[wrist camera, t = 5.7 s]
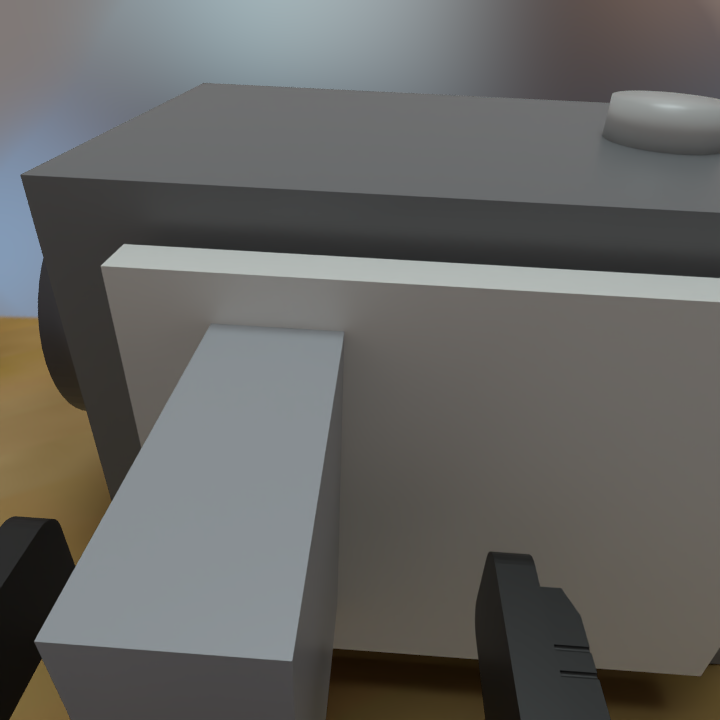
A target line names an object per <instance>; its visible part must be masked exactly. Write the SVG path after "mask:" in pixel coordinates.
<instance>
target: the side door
mask: <svg viewBox="0 0 720 720" xmlns="http://www.w3.org/2000/svg"><path fill="white" fill-rule="evenodd" d="M101 270H102V275H103V279H104V284H105V288H106V293H107V297H108V302H109V306H110V311H111V315H112V319H113V324H114V328H115V333H116V337H117V342H118V346H119V351H120V355H121V360H122V364H123V368H124V373H125V377H126V382H127V386H128V391H129V395H130V400H131V404H132V409H133V413H134V418H135V422H136V426H137V431H138V435H139V440H140V444H141V450H140V452H139V454H138V455H137V457H136V459H135V461H134V463H133V464H132V466H131V468H130V470H129V472H128V473H127V475H126V477H125V479H124V481H123V482H122V484H121V486H120V488H119V490H118V491H117V493H116V495H115V497H114V499H113V500H112V502H111V504H110V506H109V508H108V509H107V511H106V513H105V515H104V517H103V518H102V520H101V522H100V524H99V526H98V527H97V529H96V531H95V533H94V535H93V536H92V538H91V540H90V542H89V544H88V545H87V547H86V549H85V551H84V553H83V554H82V556H81V558H80V560H79V562H78V563H77V565H76V567H75V569H74V571H73V572H72V574H71V576H70V578H69V579H68V581H67V583H66V585H65V587H64V588H63V590H62V592H61V594H60V596H59V597H58V599H57V601H56V603H55V605H54V606H53V608H52V610H51V612H50V614H49V615H48V617H47V619H46V621H45V623H44V624H43V626H42V628H41V630H40V632H39V633H38V635H37V637H36V639H35V641H34V643H35V645H36V647H37V649H38V651H39V653H40V655H41V657H42V660H43V662H44V664H45V666H46V668H47V670H48V672H49V674H50V676H51V679H52V681H53V683H54V685H55V687H56V689H57V691H58V693H59V695H60V698H61V700H62V702H63V704H64V706H65V708H66V710H67V712H68V715H69V717H70V719H71V720H326V712H327V702H328V692H329V682H330V672H331V662H332V652H333V648H335V649H348V650H361V651H374V652H387V653H401V654H414V655H427V656H440V657H453V658H466V659H478V652H477V644H476V635H475V606H476V599H477V595H478V591H479V587H480V583H481V578H482V574H483V570H484V566H485V562H486V558H487V555H488V553H489V552H490V551H491V552H505V553H519V554H530V555H531V556H532V558H533V560H534V563H535V567H536V571H537V575H538V579H539V584H540V587H553V588H562V590H563V591H564V593H565V594H566V596H567V597H568V598H569V600H570V601H571V603H572V604H573V605H574V607H575V608H576V610H577V611H578V613H579V614H580V615H581V618H582V622H583V625H584V629H585V632H586V636H587V639H588V643H589V646H590V648H589V650H590V653H592V657H593V660H594V663H595V667H596V668H598V669H611V670H624V671H638V672H651V673H664V674H677V675H690V676H701V675H702V674H703V672H704V671H705V669H706V668H707V666H708V665H709V663H710V662H711V660H712V658H713V657H714V655H715V654H716V652H717V651H718V649H719V648H720V278H707V277H690V276H673V275H655V274H638V273H620V272H603V271H585V270H568V269H550V268H533V267H516V266H498V265H481V264H463V263H446V262H428V261H411V260H393V259H376V258H358V257H341V256H324V255H306V254H289V253H271V252H254V251H236V250H219V249H201V248H184V247H167V246H149V245H132V244H123V245H122V246H121V247H120V248H119V249H118V250H117V251H116V252H115V253H114V254H113V255H112V256H111V257H110V258H109V259H107V260H106V261H105V262H104V263H103V264H102V265H101Z"/></svg>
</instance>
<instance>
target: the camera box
mask: <svg viewBox="0 0 720 720" xmlns="http://www.w3.org/2000/svg"><path fill="white" fill-rule="evenodd" d="M21 179H22V182H23V186H24V189H25V193H26V197H27V200H28V204H29V207H30V211H31V214H32V218H33V222H34V225H35V229H36V232H37V236H38V239H39V243H40V246H41V250H42V253H43V257H44V258H43V263H42V268H41V274H40V281H39V293H38V320H39V331H40V338H41V344H42V349H43V353H44V357H45V361H46V364H47V367H48V370H49V372H50V375H51V377H52V379H53V381H54V383H55V385H56V387H57V389H58V390H59V392H60V393H61V395H62V396H63V397H64V398H65V399H66V400H67V401H68V402H69V403H70V404H71V405H73V406H74V407H76V408H78V409H81V410H84V411H87V415H88V418H89V422H90V425H91V429H92V432H93V436H94V440H95V443H96V447H97V450H98V454H99V457H100V461H101V465H102V468H103V472H104V475H105V479H106V482H107V486H108V490H109V493H110V497H111V500H113V499H114V497H115V495H116V493H117V491H118V490H119V488H120V486H121V484H122V482H123V481H124V479H125V477H126V475H127V473H128V472H129V470H130V468H131V466H132V464H133V463H134V461H135V459H136V457H137V455H138V454H139V452H140V450H141V444H140V440H139V435H138V431H137V426H136V422H135V418H134V413H133V409H132V404H131V400H130V395H129V391H128V386H127V382H126V377H125V373H124V368H123V364H122V360H121V355H120V351H119V346H118V342H117V337H116V333H115V328H114V324H113V319H112V315H111V311H110V306H109V302H108V297H107V293H106V288H105V284H104V279H103V275H102V270H101V265H102V264H103V263H104V262H105V261H106V260H107V259H109V258H110V257H111V256H112V255H113V254H114V253H115V252H116V251H117V250H118V249H119V248H120V247H121V246H122V245H123V244H132V245H149V246H167V247H184V248H201V249H219V250H236V251H254V252H271V253H289V254H306V255H324V256H341V257H358V258H376V259H393V260H411V261H428V262H446V263H463V264H481V265H498V266H516V267H533V268H550V269H568V270H585V271H603V272H620V273H638V274H655V275H673V276H690V277H707V278H720V99H715V98H710V97H704V96H697V95H690V94H681V93H671V92H657V91H621V92H615V93H613V94H612V98H611V102H610V103H597V102H577V101H556V100H536V99H516V98H496V97H495V98H494V97H474V96H455V95H434V94H414V93H395V92H394V93H393V92H374V91H354V90H352V91H351V90H333V89H314V88H292V87H273V86H253V85H233V84H212V83H203V84H201V85H199V86H197V87H195V88H193V89H191V90H189V91H187V92H185V93H183V94H181V95H179V96H177V97H175V98H173V99H171V100H169V101H167V102H165V103H163V104H161V105H159V106H157V107H155V108H153V109H151V110H149V111H147V112H145V113H143V114H141V115H139V116H137V117H135V118H133V119H131V120H129V121H127V122H125V123H123V124H121V125H119V126H117V127H115V128H113V129H111V130H109V131H107V132H105V133H103V134H101V135H99V136H97V137H95V138H93V139H91V140H89V141H87V142H85V143H83V144H81V145H79V146H77V147H75V148H73V149H71V150H69V151H67V152H65V153H63V154H61V155H59V156H57V157H55V158H53V159H51V160H49V161H47V162H45V163H43V164H41V165H39V166H37V167H35V168H33V169H31V170H29V171H27V172H25V173H23V174H21ZM710 664H720V648H719V649H718V651H717V652H716V654H715V655H714V657H713V658H712V660H711V662H710Z"/></svg>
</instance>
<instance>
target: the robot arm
mask: <svg viewBox="0 0 720 720" xmlns="http://www.w3.org/2000/svg"><path fill="white" fill-rule="evenodd" d="M74 569H75V564H74V562H73V559H72V556H71V553H70V551H69V548H68V545H67V542H66V539H65V537H64V534H63V531H62V528H61V526H60V524H59V522H58V521H57V520H55V519H45V518H31V517H17V516H15V517H11V518H9V519H8V520H6V521H5V522H4V523H3V524H2V526H1V527H0V720H9V719H10V717H11V715H12V714H13V712H14V710H15V708H16V706H17V704H18V702H19V700H20V698H21V697H22V695H23V693H24V691H25V689H26V687H27V685H28V683H29V681H30V680H31V678H32V676H33V674H34V672H35V670H36V668H37V666H38V665H39V663H40V661H41V659H42V657H41V655H40V653H39V651H38V649H37V647H36V645H35V643H34V641H35V639H36V637H37V635H38V633H39V632H40V630H41V628H42V626H43V624H44V623H45V621H46V619H47V617H48V615H49V614H50V612H51V610H52V608H53V606H54V605H55V603H56V601H57V599H58V597H59V596H60V594H61V592H62V590H63V588H64V587H65V585H66V583H67V581H68V579H69V578H70V576H71V574H72V572H73V571H74ZM475 635H476V644H477V652H478V661H479V669H480V678H481V686H482V695H483V703H484V712H485V720H611V719H610V716H609V712H608V709H607V705H606V702H605V698H604V695H603V691H602V688H601V684H600V681H599V680H598V679H597V670H596V667H595V663H594V660H593V657H592V653H590V650H589V648H590V646H589V643H588V639H587V636H586V632H585V629H584V625H583V622H582V618H581V615H580V614H579V613H578V611H577V610H576V608H575V607H574V605H573V604H572V603H571V601H570V600H569V598H568V597H567V596H566V594H565V593H564V591H563V590H562V588H553V587H540V584H539V579H538V575H537V571H536V567H535V563H534V560H533V558H532V556H531V555H530V554H519V553H505V552H491V551H490V552H489V553H488V555H487V558H486V562H485V566H484V570H483V574H482V578H481V583H480V587H479V591H478V595H477V599H476V606H475Z"/></svg>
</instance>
